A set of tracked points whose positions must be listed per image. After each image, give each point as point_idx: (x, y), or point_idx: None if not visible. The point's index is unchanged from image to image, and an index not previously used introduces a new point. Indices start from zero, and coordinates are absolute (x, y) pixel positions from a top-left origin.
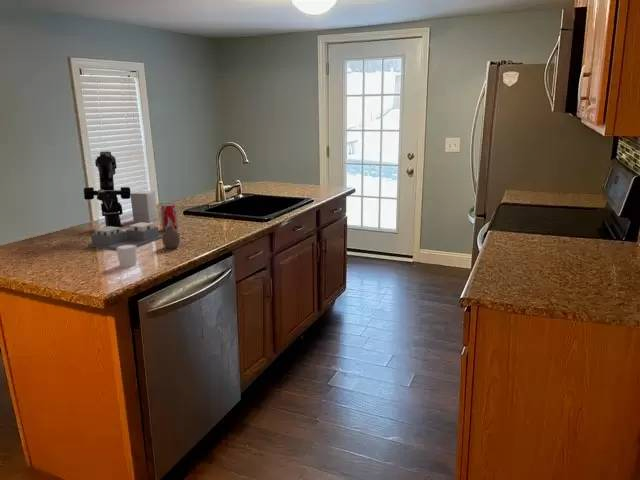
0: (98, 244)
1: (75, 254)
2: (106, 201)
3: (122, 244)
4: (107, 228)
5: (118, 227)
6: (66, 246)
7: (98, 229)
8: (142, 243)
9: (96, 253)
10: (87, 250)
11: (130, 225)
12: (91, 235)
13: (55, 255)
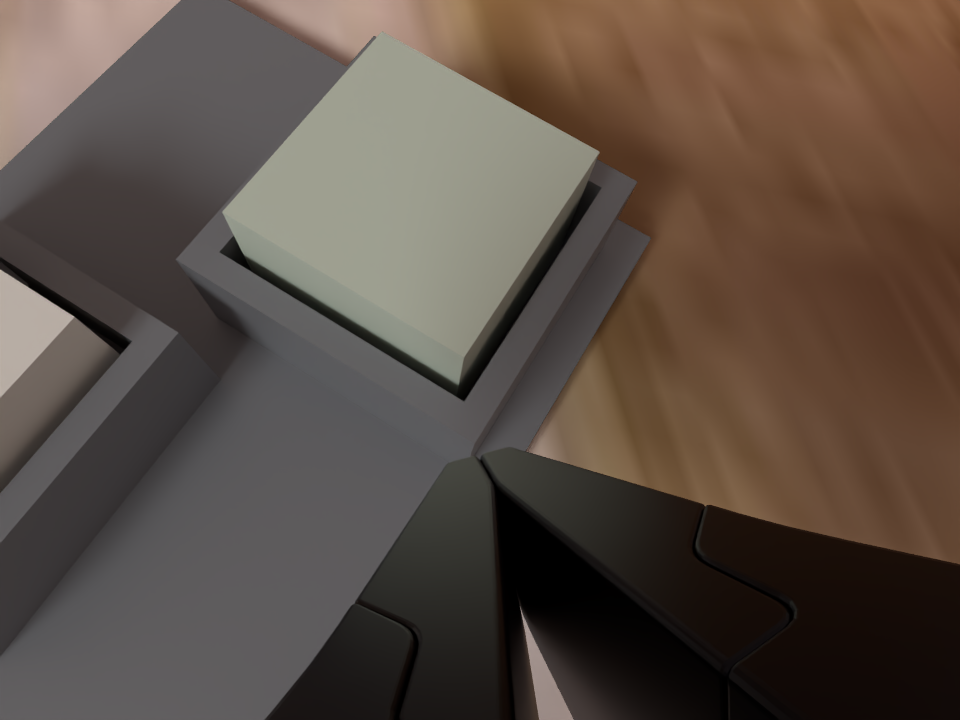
0: None
1: (660, 24)
2: (615, 518)
3: (249, 143)
4: (430, 190)
5: (260, 216)
6: (886, 318)
7: (555, 159)
8: (18, 162)
9: (477, 8)
10: (597, 119)
11: (53, 316)
12: (632, 187)
13: (825, 37)
